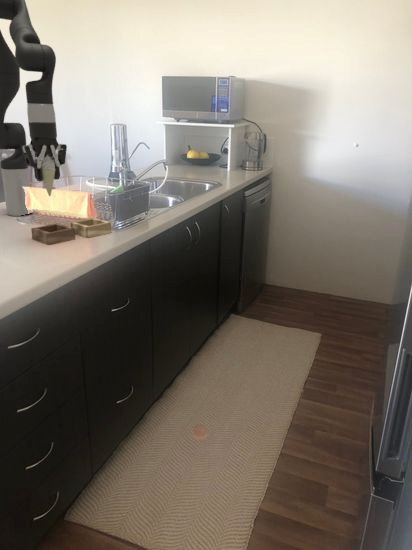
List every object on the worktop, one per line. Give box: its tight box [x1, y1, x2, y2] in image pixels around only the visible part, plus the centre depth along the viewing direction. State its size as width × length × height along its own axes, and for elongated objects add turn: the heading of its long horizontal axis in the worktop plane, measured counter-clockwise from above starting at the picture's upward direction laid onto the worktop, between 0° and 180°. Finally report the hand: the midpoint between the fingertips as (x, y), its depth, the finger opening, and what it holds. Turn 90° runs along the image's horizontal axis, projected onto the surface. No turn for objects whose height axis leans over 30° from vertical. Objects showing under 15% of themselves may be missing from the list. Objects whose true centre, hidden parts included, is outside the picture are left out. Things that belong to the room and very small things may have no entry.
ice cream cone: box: [41, 155, 56, 197], centre depth 130 cm, size 5×5×15 cm
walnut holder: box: [30, 223, 76, 246], centre depth 137 cm, size 9×9×4 cm
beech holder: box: [70, 217, 112, 239], centre depth 145 cm, size 9×9×4 cm
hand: (48, 179), depth 131 cm, fingers closed on ice cream cone, 5 cm apart
